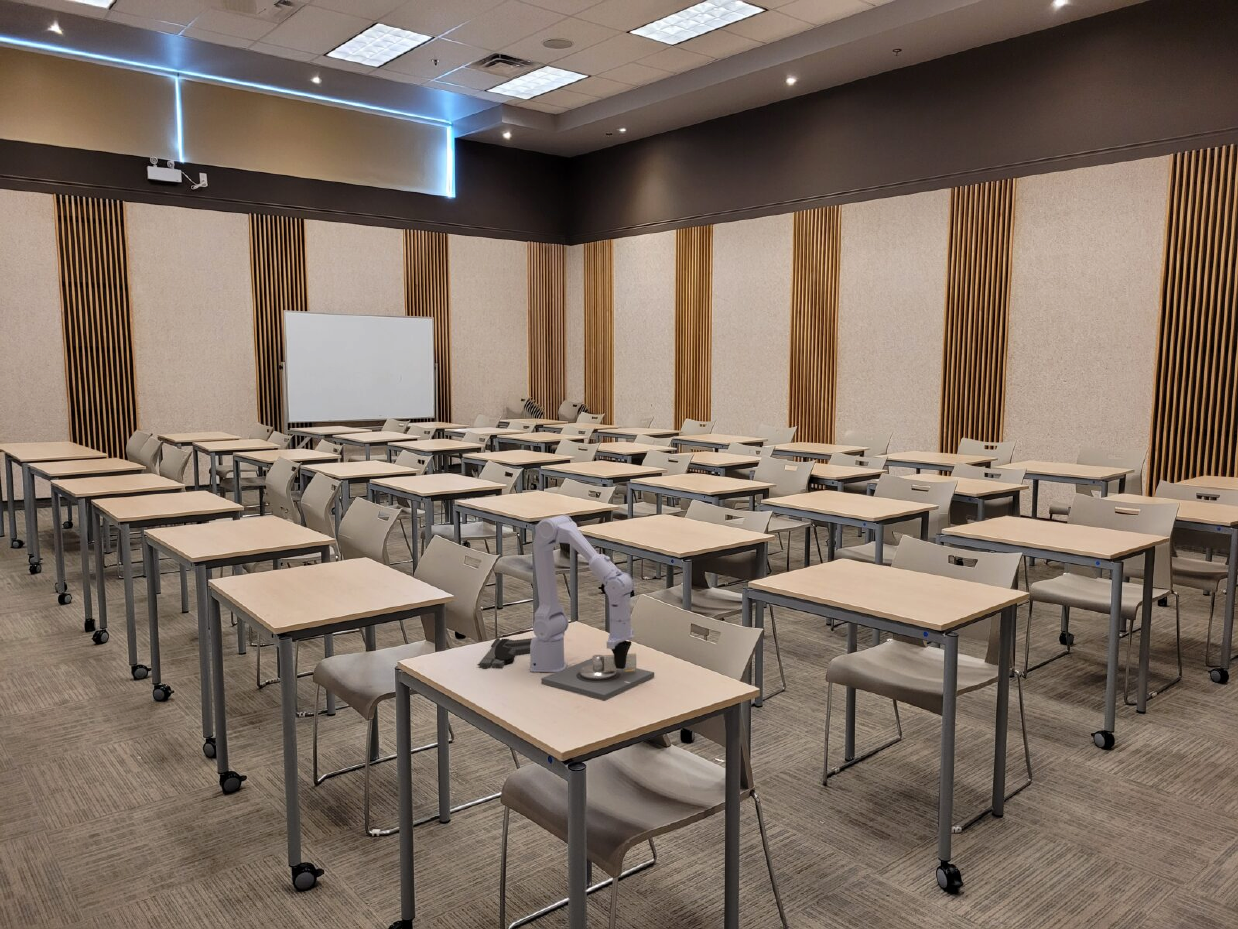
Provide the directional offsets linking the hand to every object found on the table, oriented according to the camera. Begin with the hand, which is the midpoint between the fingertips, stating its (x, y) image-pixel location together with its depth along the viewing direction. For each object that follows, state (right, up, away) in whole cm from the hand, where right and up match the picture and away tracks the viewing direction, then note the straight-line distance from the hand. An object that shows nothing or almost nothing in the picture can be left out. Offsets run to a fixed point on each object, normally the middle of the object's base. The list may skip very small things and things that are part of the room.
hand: (620, 668), depth 240 cm
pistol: (-33, -3, +25) cm, 41 cm away
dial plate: (-6, -4, +1) cm, 7 cm away
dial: (-3, -2, +2) cm, 4 cm away
